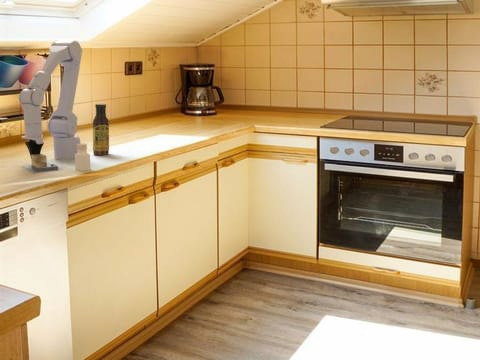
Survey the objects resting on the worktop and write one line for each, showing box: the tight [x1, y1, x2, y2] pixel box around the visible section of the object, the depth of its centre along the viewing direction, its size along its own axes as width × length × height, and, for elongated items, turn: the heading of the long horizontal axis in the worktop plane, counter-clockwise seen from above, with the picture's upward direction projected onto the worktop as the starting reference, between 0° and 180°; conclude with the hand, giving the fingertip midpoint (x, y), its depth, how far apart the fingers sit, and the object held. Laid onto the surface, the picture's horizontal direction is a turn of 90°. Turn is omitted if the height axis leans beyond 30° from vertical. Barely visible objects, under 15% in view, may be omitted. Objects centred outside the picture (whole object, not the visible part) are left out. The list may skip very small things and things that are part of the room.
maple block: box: [30, 153, 48, 168], centre depth 218 cm, size 4×4×4 cm
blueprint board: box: [21, 162, 63, 174], centre depth 216 cm, size 10×15×2 cm, turn 34°
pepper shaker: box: [74, 143, 92, 172], centre depth 213 cm, size 4×4×10 cm
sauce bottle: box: [92, 103, 110, 156], centre depth 245 cm, size 7×6×20 cm
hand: (35, 161), depth 222 cm, fingers closed
